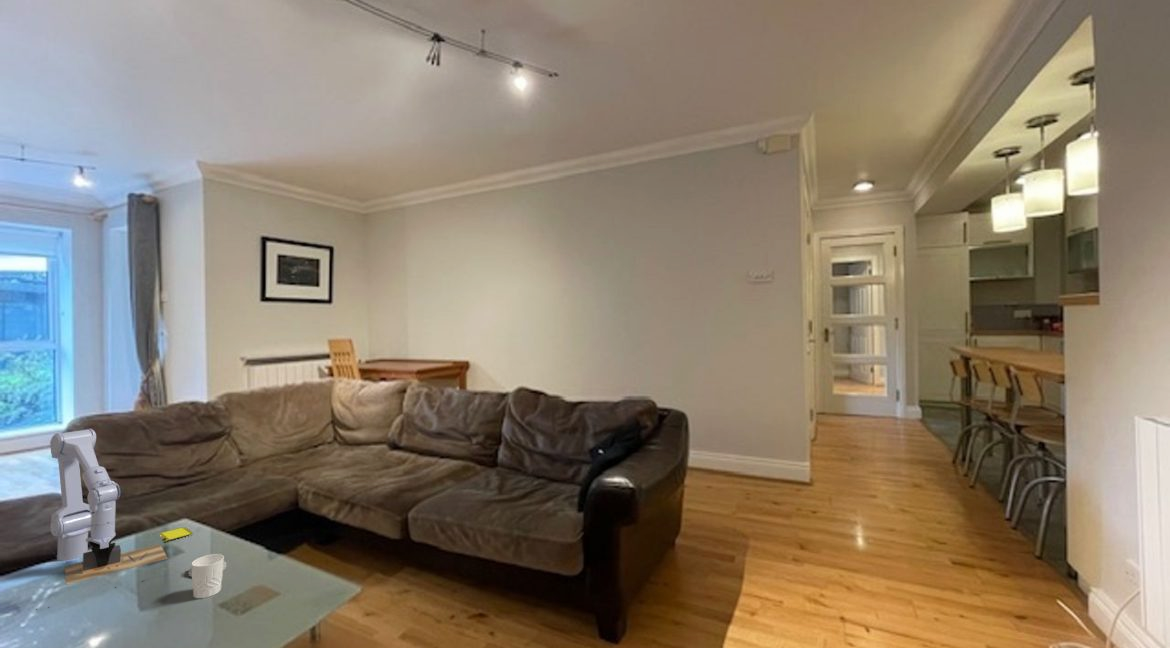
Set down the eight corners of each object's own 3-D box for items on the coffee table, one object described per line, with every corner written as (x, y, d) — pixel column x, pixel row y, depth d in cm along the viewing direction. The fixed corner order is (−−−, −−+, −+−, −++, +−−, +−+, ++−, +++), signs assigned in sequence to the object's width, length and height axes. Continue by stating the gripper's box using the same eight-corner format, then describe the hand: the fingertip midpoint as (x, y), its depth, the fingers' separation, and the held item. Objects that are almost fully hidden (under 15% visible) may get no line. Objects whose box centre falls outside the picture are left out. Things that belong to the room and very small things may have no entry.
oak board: (64, 570, 161) (64, 566, 161) (160, 547, 179) (160, 543, 179) (66, 588, 151) (66, 584, 151) (167, 561, 168) (167, 558, 168)
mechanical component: (180, 577, 159) (205, 580, 157) (180, 563, 159) (205, 567, 157) (209, 562, 169) (233, 566, 167) (209, 550, 169) (233, 553, 167)
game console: (183, 529, 197) (183, 525, 197) (194, 536, 190) (194, 532, 190) (123, 545, 182) (123, 541, 182) (133, 553, 175) (133, 549, 175)
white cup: (229, 588, 152) (230, 556, 153) (202, 602, 145) (203, 568, 145) (211, 584, 155) (212, 552, 155) (184, 596, 148) (185, 563, 148)
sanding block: (81, 568, 160) (82, 553, 160) (119, 559, 167) (120, 544, 167) (82, 573, 157) (83, 558, 157) (121, 564, 164) (121, 549, 164)
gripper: (84, 519, 164) (83, 559, 164) (87, 532, 154) (85, 575, 154) (114, 513, 169) (112, 553, 169) (118, 525, 160) (116, 567, 160)
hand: (102, 563), depth 162 cm, fingers closed on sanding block, 5 cm apart
